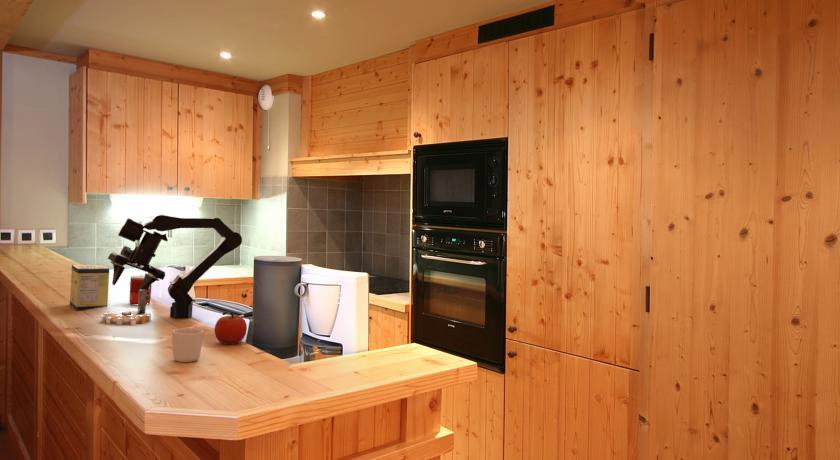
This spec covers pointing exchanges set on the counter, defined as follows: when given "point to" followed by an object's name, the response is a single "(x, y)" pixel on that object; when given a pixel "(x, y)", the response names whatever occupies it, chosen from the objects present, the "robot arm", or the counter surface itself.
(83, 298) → the protein box
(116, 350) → the counter surface
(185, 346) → the cup
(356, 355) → the counter surface
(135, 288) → the canned food
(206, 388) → the counter surface
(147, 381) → the counter surface
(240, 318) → the fruit
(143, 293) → the sprocket
